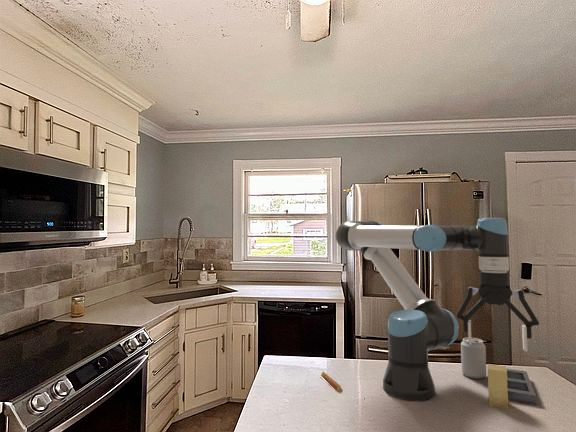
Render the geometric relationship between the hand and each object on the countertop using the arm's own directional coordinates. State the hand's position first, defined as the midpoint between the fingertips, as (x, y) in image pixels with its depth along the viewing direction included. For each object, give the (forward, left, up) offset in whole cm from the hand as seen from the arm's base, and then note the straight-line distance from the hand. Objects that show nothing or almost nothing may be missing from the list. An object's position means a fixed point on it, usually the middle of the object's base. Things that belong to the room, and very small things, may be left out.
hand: (496, 346), depth 103 cm
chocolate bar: (-47, -8, -17) cm, 51 cm away
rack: (+5, +14, -16) cm, 22 cm away
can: (-6, +20, -16) cm, 26 cm away
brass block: (0, 0, -16) cm, 16 cm away
